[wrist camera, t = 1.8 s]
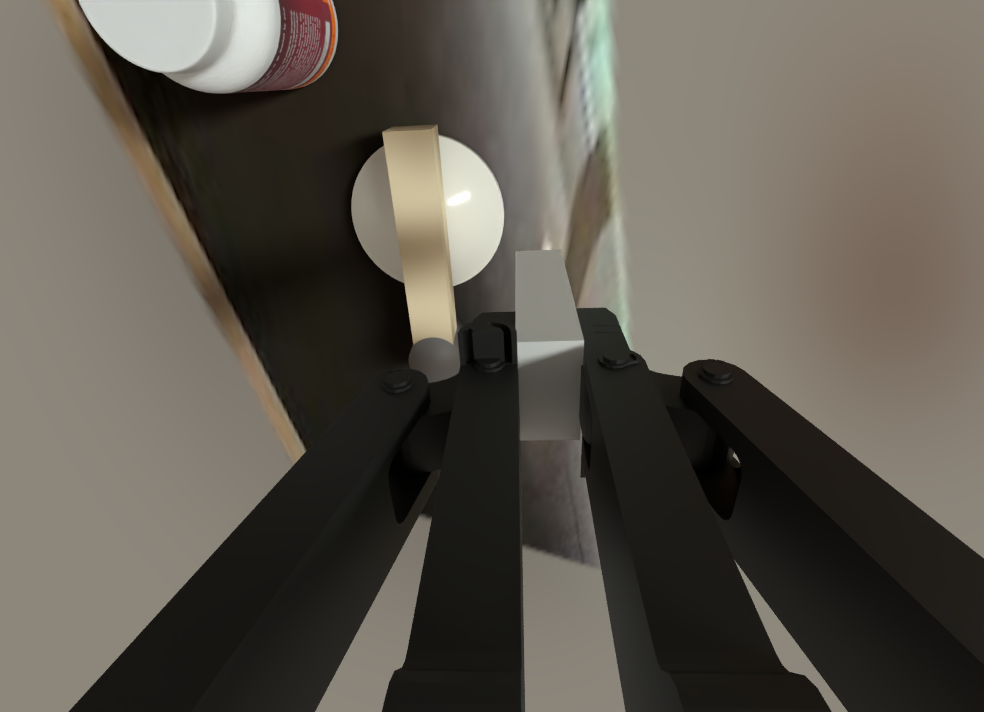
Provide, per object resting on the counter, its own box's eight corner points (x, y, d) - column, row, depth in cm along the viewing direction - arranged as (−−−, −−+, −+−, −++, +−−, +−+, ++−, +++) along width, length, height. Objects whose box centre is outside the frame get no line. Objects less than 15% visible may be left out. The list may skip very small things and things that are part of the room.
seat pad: (342, 136, 29) (337, 138, 28) (500, 128, 28) (500, 130, 27) (369, 285, 33) (365, 291, 32) (506, 280, 32) (506, 286, 32)
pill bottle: (356, -15, 25) (259, -67, 16) (323, 109, 28) (223, 130, 18) (232, -83, 24) (44, -184, 14) (210, 54, 27) (42, 46, 17)
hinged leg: (467, 352, 35) (462, 383, 32) (422, 354, 35) (412, 384, 32) (447, 121, 28) (438, 129, 24) (390, 125, 28) (373, 132, 25)
